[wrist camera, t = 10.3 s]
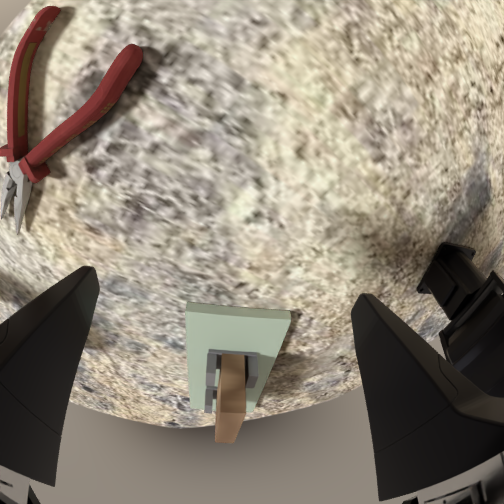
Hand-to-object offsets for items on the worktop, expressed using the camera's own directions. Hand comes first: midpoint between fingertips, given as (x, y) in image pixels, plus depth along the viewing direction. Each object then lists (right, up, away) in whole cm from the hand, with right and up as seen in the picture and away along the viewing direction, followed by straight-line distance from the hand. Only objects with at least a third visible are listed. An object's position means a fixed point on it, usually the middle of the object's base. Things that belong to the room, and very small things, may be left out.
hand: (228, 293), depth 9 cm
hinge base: (-2, -14, +24) cm, 28 cm away
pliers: (-17, +13, +6) cm, 22 cm away
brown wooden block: (-2, -14, +23) cm, 27 cm away
